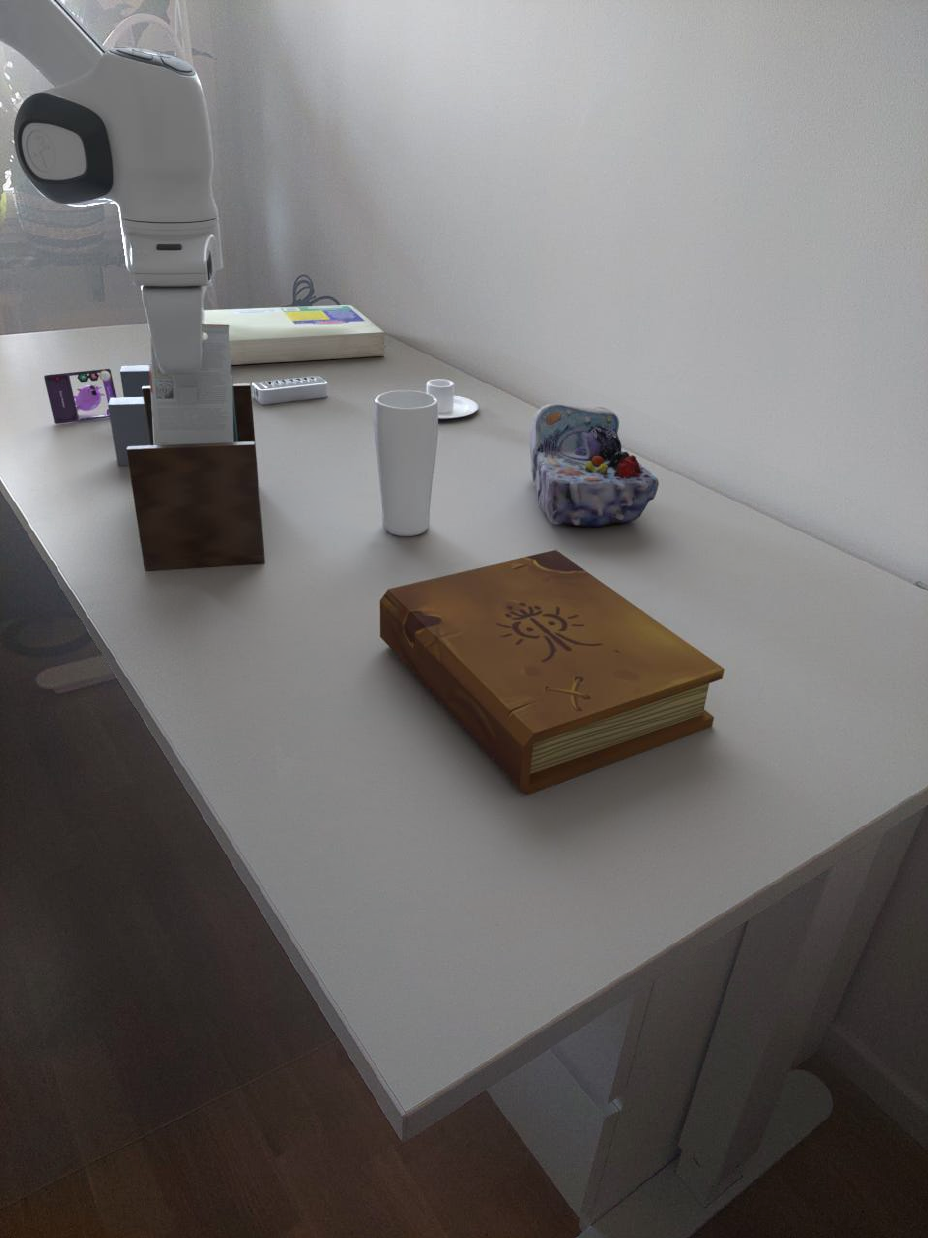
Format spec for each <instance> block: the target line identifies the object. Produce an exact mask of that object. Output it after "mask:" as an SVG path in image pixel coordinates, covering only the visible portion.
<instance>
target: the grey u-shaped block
mask: <svg viewBox="0 0 928 1238" xmlns="http://www.w3.org/2000/svg"><path fill="white" fill-rule="evenodd" d="M149 367H150V364H147V365H145V364H143V365H139V364H138V365H121V368H120V371H119V376H120V382H121V389H122V395H123V396H122V397H117V398H110V401H109V404H108V403H107V409H109V415H110V417H109V420H110V425H111V431H112V438H113V444H114V450H115V456H116V462H117V463H116V464H117V466H118V467H122V466H129V464H128V458H127V451H126V449H127V446H144V445H150V439H149V432H148V425H147V418H146V411H145V404H144V397H143V390H142V389H143V386H150V370H149Z"/></svg>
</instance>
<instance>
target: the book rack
mask: <svg viewBox="0 0 928 1238" xmlns="http://www.w3.org/2000/svg"><path fill="white" fill-rule="evenodd" d="M142 390H143V397H144V404H145V411H146V418H147V425H148V432H149V439H150V445H144V446H127V449H126V451H127V458H128V464H129V465H128V469H129V476H130V481H131V490H132V495H133V502H134V503H133V504H134V509H135V515H136V521H137V529H138V534H139V542H140V547H141V554H142V560H143V566H144V571H145V572H150V571H166V570H179V569H194V568H195V569H196V568H210V567H226V566H227V567H228V566H242V565H243V566H244V565H256V564H258V565H259V564H265V549H264V535H263V521H262V509H261V507H262V506H261V495H260V483H259V482H260V480H259V467H258V457H257V456H258V455H257V446H256V445H257V444H256V433H255V421H254V420H255V419H254V409H253V396H252V395H253V394H252V384H251V382H250V383H249V382H244V383H238V382H237V383H233V392H234V403H235V414H236V424H237V435H238V442H220V443H195V444H170V445H154V443H153V426H152V410H151V391H150V386H143V389H142Z"/></svg>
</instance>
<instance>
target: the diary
mask: <svg viewBox="0 0 928 1238" xmlns="http://www.w3.org/2000/svg"><path fill="white" fill-rule="evenodd" d="M379 638H380V639H381V640H382V641H383V642H384V643H385V644H386V646H388V648H390V650H391V651H392V652H393V653H394V654H395V655H396V656H397V657H398V658H399V660H401V661H402V663H403V664H404V665H405V666H407V668H408V669H409V670H410V671H411V672H412V673H413V674H414V676H415V677H416V678H417V679H418V680H419V681H420V682H421V683H422V684H423V685H424V686H425V687H426V688H427V689H428V691H429V692H430V693H431V694H432V695H433V696H434V697H435V698H436V699H437V700H438V702H439V703H440V704H441V705H442V706H443V707H444V708H445V709H446V711H447V712H449V714H451V716H452V717H453V718H454V719H455V720H456V721H457V722H458V724H459V725H461V727H462V728H463V729H464V730H465V731H466V732H467V733H468V734H469V735H470V736H471V738H472V739H473V740H474V741H475V743H477V744H478V745H479V746H480V747H481V748H482V750H483V751H485V753H486V754H487V755H488V756H489V757H490V759H492V760H493V761H494V763H495V764H496V765H497V766H498V767H499V768H500V769H501V770H502V771H503V772H504V773H505V775H507V777H508V778H509V779H510V780H511V781H512V782H513V783H514V784H515V785H516V787H517V788H518V789H519V790H521V791H522V792H524V793H525V794H526V795H531V794H534V793H537V792H539V791H542V790H545V789H547V788H551V787H553V786H555V785H558V784H561V783H563V782H566V781H569V780H572V779H573V778H577V777H580V776H582V775H586V774H588V773H590V772H593V771H596V770H599V769H601V768H604V767H607V766H609V765H612V764H614V763H618V762H620V761H622V760H625V759H628V758H630V757H633V756H636V755H639V754H642V753H644V752H647V751H650V750H652V749H655V748H657V747H660V746H662V745H665V744H668V743H671V742H673V741H676V740H679V739H681V738H682V739H683V738H684V737H687V736H689V735H693V734H695V733H699V732H700V731H703V730H706V729H708V728H711V727H713V725H714V719H715V716H714V715H712V714H711V713H709V711H707V710H705V705H706V701H707V696H708V691H709V687H710V684H711V683H714V682H717V681H720V680H723V679H724V675H725V670H726V668H724V667H723V666H721V664H718V663H717V662H715V660H713V659H712V658H710V657H709V656H707V655H706V654H704V653H703V652H701V650H699V649H697V648H696V647H694V646H693V645H692V644H691V643H689V642H687V641H686V640H684V638H682V637H680V636H679V635H677V634H676V633H675V632H673V631H672V630H670V629H669V628H668V627H666V626H665V625H663V624H662V623H661V622H659V621H657V620H656V619H655V618H653V617H652V616H651V615H649V614H648V613H646V612H645V611H644V610H642V609H641V608H639V607H638V606H636V605H635V604H633V603H632V602H631V601H629V600H628V599H627V598H625V597H623V596H622V595H621V594H620V593H618V592H616V591H615V590H613V589H612V588H611V587H610V586H608V585H607V584H605V583H604V582H602V581H601V580H600V579H598V578H596V577H595V575H593V574H591V573H589V572H588V571H587V570H585V568H582V567H581V566H579V564H577V563H576V562H574V561H572V560H571V559H570V558H569V557H567V556H565V555H564V554H563V553H561V552H560V551H558V550H557V549H553V550H549V551H545V552H541V553H537V554H532V555H528V556H523V557H520V558H514V559H511V560H506V561H503V562H499V563H493V564H490V565H485V566H482V567H477V568H472V569H468V570H464V571H459V572H456V573H451V574H447V575H443V576H439V577H435V578H431V579H430V578H429V579H426V580H422V581H417V582H413V583H409V584H404V585H401V586H396V587H391V588H388V589H387V590H386V591H385V593H384V594H383V595H382V596H381V598H380V599H379Z"/></svg>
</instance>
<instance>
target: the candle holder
mask: <svg viewBox="0 0 928 1238" xmlns="http://www.w3.org/2000/svg"><path fill="white" fill-rule="evenodd" d="M426 393H428V394H431V395H433V396H434V397H436V399H437V401H438V420H447V419H457V418H462V417H467V416H469V415H472V414H474V413H476V412H477V411H478V409H479V405H478V403H477V402H475V401H474V400H472V399H470V398H467V397H464V396H459V395H455V383H454V382H453V381H451V380H448V379H437V378H436V379H431V380H428V381H427V382H426Z"/></svg>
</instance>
